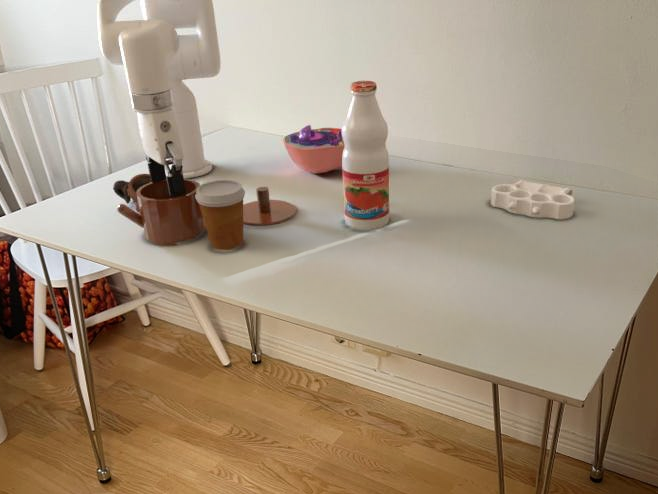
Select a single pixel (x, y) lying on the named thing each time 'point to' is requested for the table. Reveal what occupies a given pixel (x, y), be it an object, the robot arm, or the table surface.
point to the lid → (267, 210)
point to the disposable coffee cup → (222, 212)
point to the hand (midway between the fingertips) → (168, 187)
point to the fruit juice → (365, 160)
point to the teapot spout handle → (130, 214)
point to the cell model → (316, 149)
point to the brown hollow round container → (170, 213)
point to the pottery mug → (131, 188)
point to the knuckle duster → (534, 200)
